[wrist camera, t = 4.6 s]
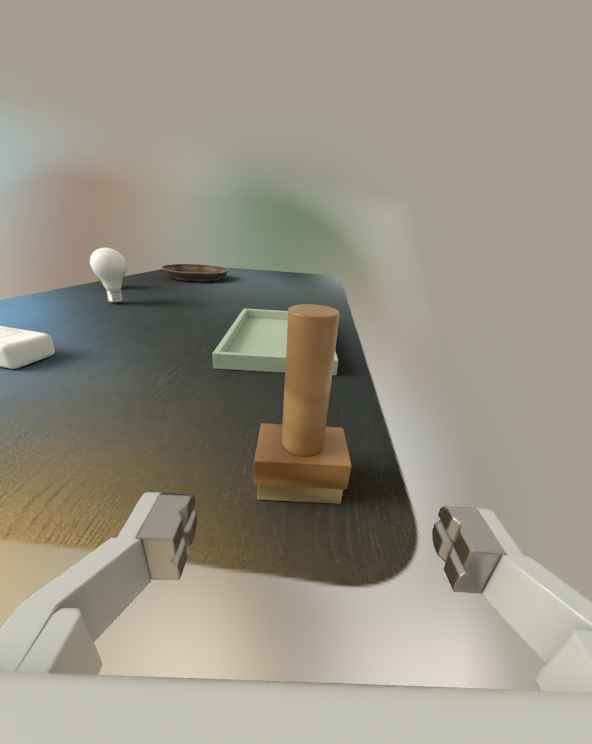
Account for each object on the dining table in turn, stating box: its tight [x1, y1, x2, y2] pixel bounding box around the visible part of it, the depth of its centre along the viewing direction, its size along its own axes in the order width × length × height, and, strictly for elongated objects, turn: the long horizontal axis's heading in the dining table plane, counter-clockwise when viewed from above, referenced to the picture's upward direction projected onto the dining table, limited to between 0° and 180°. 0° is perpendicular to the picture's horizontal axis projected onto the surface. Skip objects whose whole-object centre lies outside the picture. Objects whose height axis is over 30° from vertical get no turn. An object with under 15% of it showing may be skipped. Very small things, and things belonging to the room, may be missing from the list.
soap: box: [0, 326, 55, 369], centre depth 37 cm, size 9×6×3 cm, turn 76°
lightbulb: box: [90, 248, 127, 304], centre depth 62 cm, size 6×6×11 cm
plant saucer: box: [162, 264, 228, 282], centre depth 100 cm, size 21×21×3 cm
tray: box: [213, 309, 338, 376], centre depth 48 cm, size 16×24×2 cm, turn 0°
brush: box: [254, 304, 351, 504], centre depth 19 cm, size 6×4×12 cm, turn 90°
